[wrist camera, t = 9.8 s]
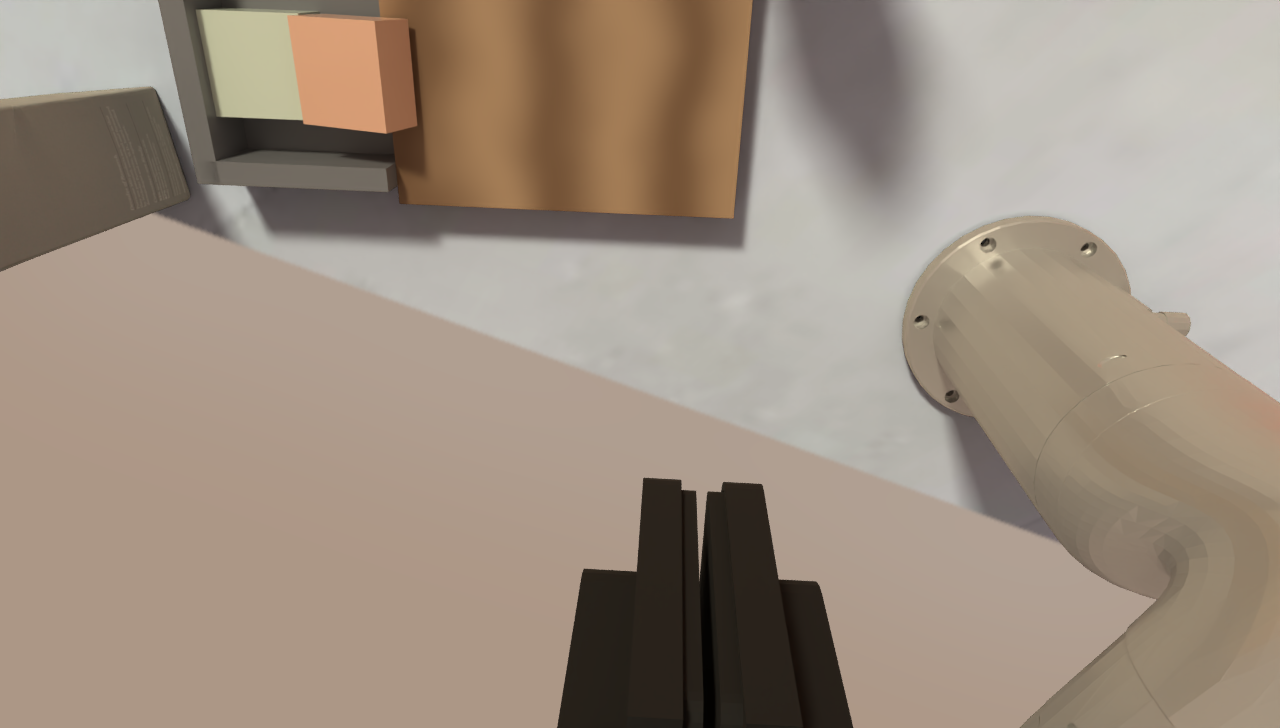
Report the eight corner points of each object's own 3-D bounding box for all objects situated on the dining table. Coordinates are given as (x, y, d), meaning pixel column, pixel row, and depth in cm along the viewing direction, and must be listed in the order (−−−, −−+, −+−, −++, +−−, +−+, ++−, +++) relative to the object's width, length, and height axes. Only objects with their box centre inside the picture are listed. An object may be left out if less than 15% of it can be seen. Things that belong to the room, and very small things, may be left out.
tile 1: (318, 11, 40) (297, 13, 38) (332, 113, 42) (313, 120, 40) (222, 7, 40) (195, 9, 38) (240, 109, 42) (216, 116, 40)
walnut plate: (754, -79, 38) (759, -82, 36) (730, 206, 44) (733, 218, 42) (386, -92, 39) (368, -96, 36) (413, 192, 45) (399, 203, 42)
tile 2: (407, 19, 38) (374, 20, 36) (417, 125, 40) (386, 133, 38) (323, 13, 39) (286, 15, 37) (337, 116, 42) (303, 123, 40)
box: (384, -116, 38) (354, -126, 34) (411, 174, 44) (388, 192, 41) (180, -123, 38) (129, -133, 35) (236, 167, 45) (197, 183, 41)
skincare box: (65, 212, 46) (-206, 316, 32) (11, 84, 43) (-316, 137, 29) (203, 200, 45) (-12, 302, 31) (158, 69, 42) (-103, 116, 28)
